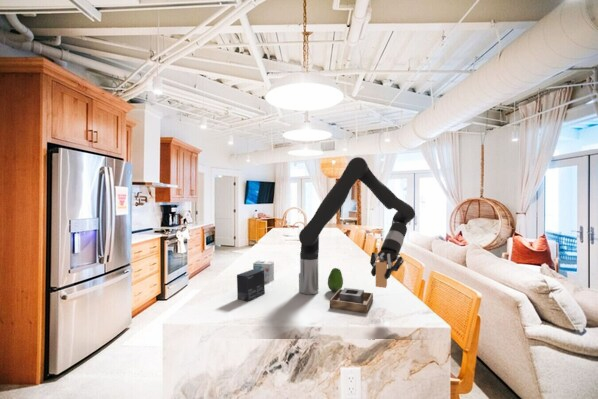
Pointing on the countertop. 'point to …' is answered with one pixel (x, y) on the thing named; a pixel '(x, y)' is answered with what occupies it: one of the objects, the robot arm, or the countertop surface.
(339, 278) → the avocado
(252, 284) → the small box
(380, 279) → the plug
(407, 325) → the countertop surface
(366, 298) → the walled tray
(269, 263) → the light bulb box
